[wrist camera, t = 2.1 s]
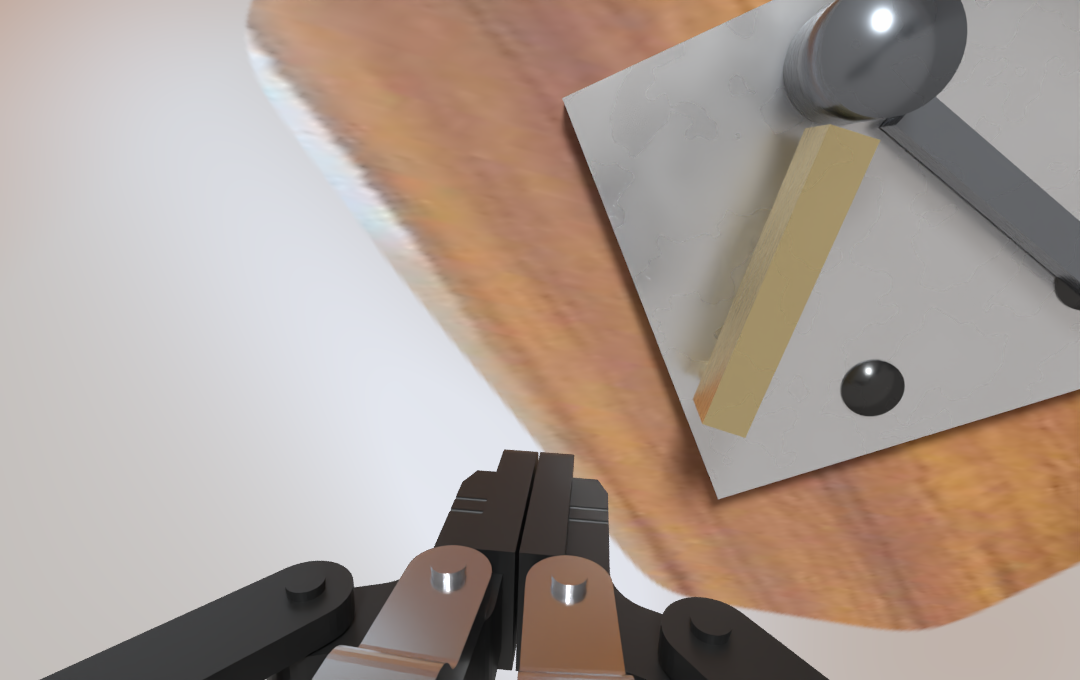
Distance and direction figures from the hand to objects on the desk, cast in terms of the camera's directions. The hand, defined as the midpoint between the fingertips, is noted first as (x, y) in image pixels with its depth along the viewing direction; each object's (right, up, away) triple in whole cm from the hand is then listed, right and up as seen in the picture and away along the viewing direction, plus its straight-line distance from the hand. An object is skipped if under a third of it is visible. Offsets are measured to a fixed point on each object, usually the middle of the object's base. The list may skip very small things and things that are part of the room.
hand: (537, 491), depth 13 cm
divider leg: (+9, +6, +10) cm, 15 cm away
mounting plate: (+13, +8, +11) cm, 18 cm away
